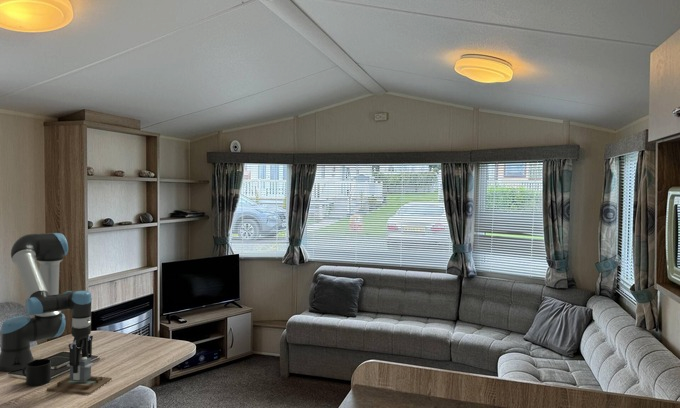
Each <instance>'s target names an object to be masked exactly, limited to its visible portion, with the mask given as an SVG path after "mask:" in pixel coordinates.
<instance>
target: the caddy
mask: <svg viewBox="0 0 680 408" xmlns="http://www.w3.org/2000/svg"><path fill="white" fill-rule="evenodd" d="M110 380H111V381H112V377H109V376H107V377H106V376H98V375H97V376H96V375H91V378H90V379H88V380H86V381H85V382H81V381H70V374H69V375H68V376H66V377H64V378H63V379H61V380H59V381H58V382H55V383H54V384H52V385H50V386H49V387H47V388H46V391H47V392H55V393H66V394H78V395H86V394H90V395H92V394H93V393H94V392H96V391H98V390H99V389H101V388H102V387H103V386H105V385H106V384H107V382H108V383H109V382H111V381H110ZM104 384H105V385H104ZM101 386H102V387H101ZM98 388H99V389H98ZM95 390H96V391H95ZM91 393H92V394H91Z"/></svg>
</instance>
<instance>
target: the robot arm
mask: <svg viewBox="0 0 680 408" xmlns="http://www.w3.org/2000/svg"><path fill="white" fill-rule="evenodd" d="M68 252H69V244H68V240H67V238H66V236H65V235H64V234H63V233H61V232H48V233H30V234H24V235H22V236H20V237H19V238H18V239H16V241H15V242H14V243H13V244H12V247H11V251H10V258H11V261H12V263H13V264H14V265H16V267H17V269H18V272H19V275H20V278H21V280H22V283H23V285H24V288H25V292H26V294H27V296H28V298H27V299H26V301H25V307H24V308H25V312H26V314H28V315H19V316H14V317H10V318H8V319H6V320H5V321H3V322H2V324H1V330H0V333H1V337H0V338H1V342H0V344H1V345H0V348H1V349H0V372H13V371H15V372H16V371H20V369H21V370H23V368H25V367H26V365H27V363H28V362H30V361H33V360H35V358H34V356H33V353H32V350H31V343H33V342H38V341H43V340H49V339H53V338H58V337H60V336H62V334H63V333H64V331H65V328H66V316H65V314H64V313H62V311H69V310H71V327H72V328H71V336H72V337H73V341H72V343H69V344H68V349H69V353H68V354H69V357H68V358H69V359H68V360H69V363H68V364H69V365H70V366H73V380H80V365H79V361H80V357H87V358H91V359H92V353H93V339H94V338H93V337H94V335H91V333H92V329H91V328H92V325H91V324H92V299H93V298H92V292H91V291H89V290H77V291H74V290H67V291H65V292H63V293H60V292H59V290H60V286H59V285H60V263H61V262H63V260H64V256H67V255H68V254H69V253H68ZM38 263H39V265H38ZM31 316H34V317H31Z"/></svg>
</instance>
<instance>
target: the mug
mask: <svg viewBox="0 0 680 408" xmlns="http://www.w3.org/2000/svg"><path fill="white" fill-rule="evenodd" d="M21 370H22V371H21V373H22V375H23V376H24V377H25V379H26V380H25V381H26V382H25V385H26V386H29V387H40V386H43V385H47V384H49V382H51V380H52V378H51V376H52V375H51V374H52V360H51V359H49V358H39V359H34V360H33V361H30V362H28V363H27V365H26V367H25V368H23V369H21ZM25 371H26V372H25Z"/></svg>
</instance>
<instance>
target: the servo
mask: <svg viewBox="0 0 680 408" xmlns="http://www.w3.org/2000/svg"><path fill="white" fill-rule="evenodd" d="M79 365H80V380H73V366H70V365H69V363H68V364H66V367H69V375H70V381H81V382H85V381H86V380H88V379H90V378H91V376H92V371H91V370H92V366H94V365H95V362H92V357H91V358H87V357H82V356H80V361H79Z"/></svg>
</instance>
